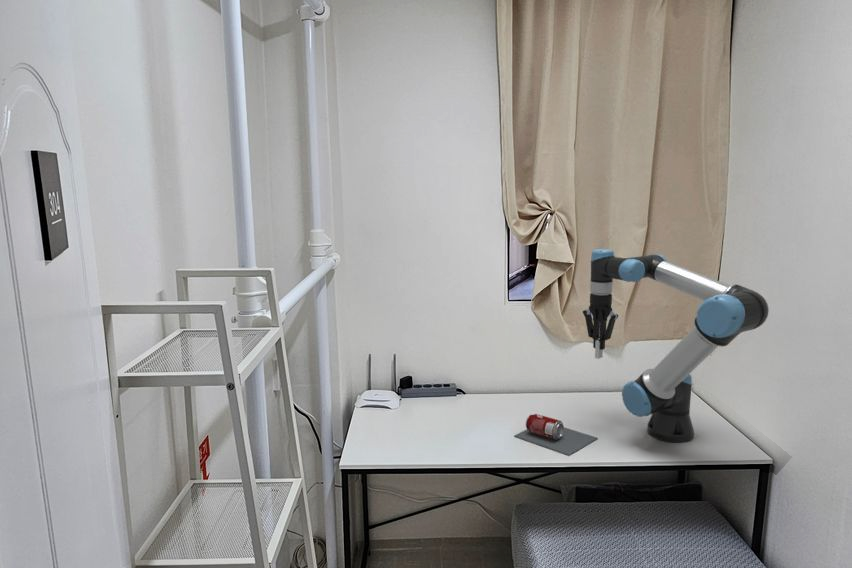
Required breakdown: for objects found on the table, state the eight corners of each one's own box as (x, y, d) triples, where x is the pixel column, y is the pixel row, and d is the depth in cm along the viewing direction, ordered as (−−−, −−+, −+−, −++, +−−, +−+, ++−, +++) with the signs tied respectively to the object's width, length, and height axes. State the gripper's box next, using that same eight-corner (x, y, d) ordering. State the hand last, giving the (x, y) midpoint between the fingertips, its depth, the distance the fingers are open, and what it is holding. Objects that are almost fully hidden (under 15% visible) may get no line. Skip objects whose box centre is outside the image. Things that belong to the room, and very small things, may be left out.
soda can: (555, 423, 210) (525, 414, 218) (554, 442, 210) (524, 433, 218) (565, 419, 214) (535, 411, 223) (564, 438, 215) (534, 429, 223)
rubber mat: (597, 438, 215) (597, 437, 215) (569, 456, 202) (569, 454, 202) (543, 421, 230) (543, 420, 230) (514, 436, 217) (514, 435, 217)
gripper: (623, 293, 219) (620, 358, 223) (590, 289, 228) (587, 352, 232) (612, 297, 214) (610, 363, 218) (579, 292, 223) (577, 356, 227)
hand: (598, 357), depth 225 cm, fingers closed
